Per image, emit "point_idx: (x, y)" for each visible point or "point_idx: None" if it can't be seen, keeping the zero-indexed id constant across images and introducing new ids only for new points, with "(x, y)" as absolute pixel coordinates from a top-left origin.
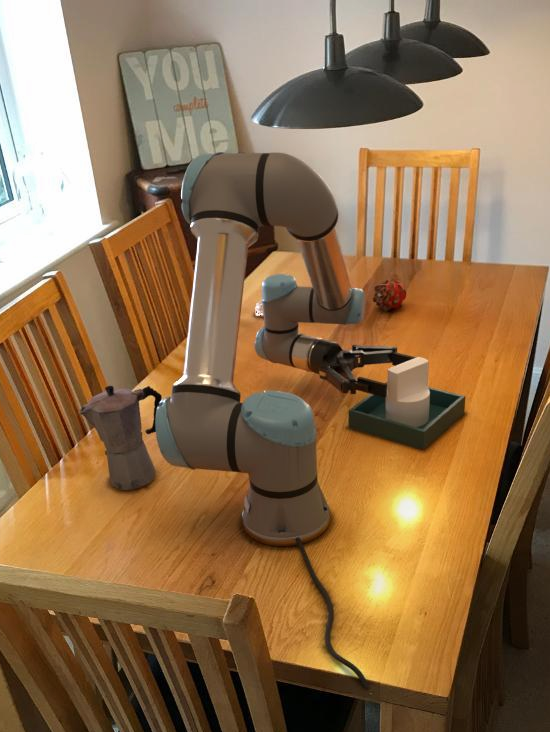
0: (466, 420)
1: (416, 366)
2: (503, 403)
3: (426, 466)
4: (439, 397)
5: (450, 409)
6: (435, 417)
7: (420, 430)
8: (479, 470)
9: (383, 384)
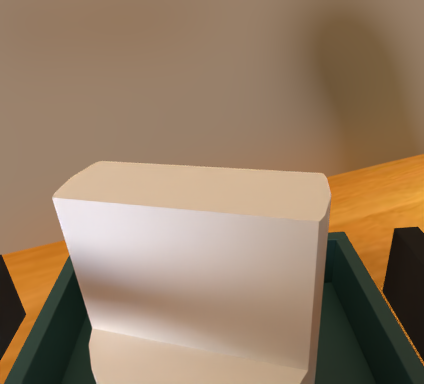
0: None
1: (181, 166)
2: None
3: (389, 246)
4: (60, 334)
5: None
6: None
7: (347, 239)
8: None
9: (420, 234)
